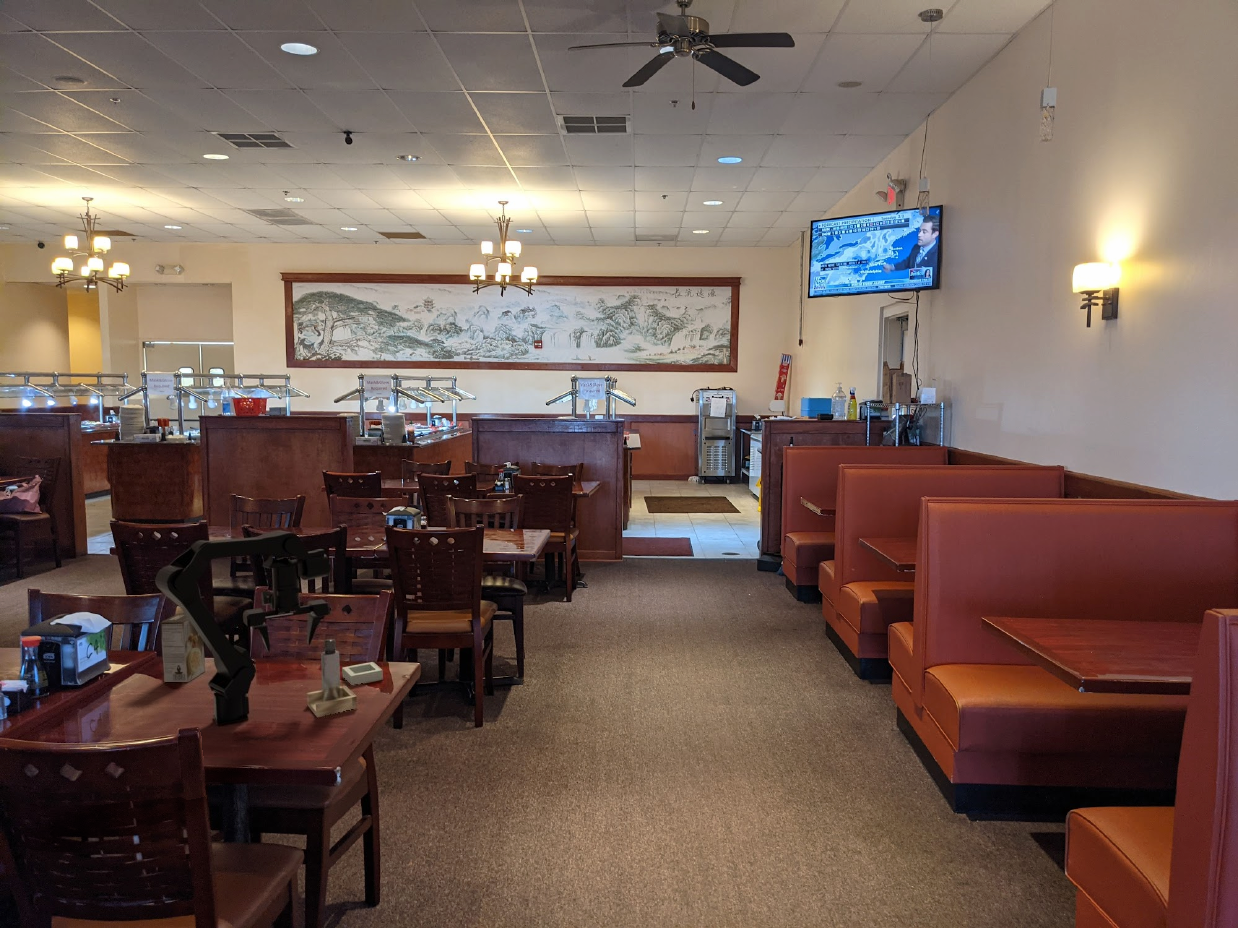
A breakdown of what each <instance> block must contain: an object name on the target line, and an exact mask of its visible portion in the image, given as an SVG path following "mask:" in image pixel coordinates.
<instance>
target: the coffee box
mask: <svg viewBox="0 0 1238 928" xmlns="http://www.w3.org/2000/svg"><path fill="white" fill-rule="evenodd" d="M159 624H160V636H161V651H162V662H163V663H162V664H163V680H164V683H165V682H188V683H190V682H191V681H193V680H194V679H195V678H198V676H200V675H202V674H203V673H204V672H206V660H205V659H206V657H205V645H204V644H205V642H204V641H203V639H202V638H201V636H200V635H199V634H198V632H197V631H196V629H195V628H194V626H193V625H192V623H191V622H190V621H189V619H188V618H187V616H186V615H185V613H184V612H183V613H181V612H179V613H177V614H175V615H173V616H171V617H168V618H167V619H164V620H162V621H161V622H160V623H159Z"/></svg>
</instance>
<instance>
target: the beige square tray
mask: <svg viewBox="0 0 1238 928" xmlns="http://www.w3.org/2000/svg"><path fill="white" fill-rule="evenodd" d="M306 698H307V701H306V702H307V706H308V708H309V709H310V710H311V712H312V713H313V714H314V715H315V716H316V718H321V717H326V716H329V715H330V714H331V715H335V713H336V714H339V713H338V712H340V713H343V711H345V712H347V711H346V710H350V711H352V710H351V709H354V710H357V709H358V705H357V704H358V702H357V699H358V698H357V695H356V694H355V693H354V692H353V691H352V690H351V688H349V687H347V685H342V686H341V685H340V698H339V699H334V700H329V701H325V702H322V689H321V690H315V691H311V692H307V693H306ZM325 715H326V716H325Z"/></svg>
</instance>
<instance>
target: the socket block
mask: <svg viewBox="0 0 1238 928" xmlns="http://www.w3.org/2000/svg"><path fill="white" fill-rule="evenodd" d="M341 670H342V672H341V673H342V678H343V679H344V678H345V679H344V680H345V681H346V680H347V681H348V682H349V683H350V684H351V685H353V686H355V685H354V684H358V685H362V684H361V683H363V684H367V683H372V682H377V681H378V682H379V681H382V680H384V675H383V674H384V672H383V669H382V668H381V667H380V666H378V665H377V664H376V663H375V662H373V661H371V662H366V663H365V662H364V663H359V664H355V665H350V666H345V667H343V666H342V669H341ZM347 681H346V682H347ZM348 682H347V683H348ZM349 683H348V684H349ZM350 684H349V685H350ZM351 685H350V686H351Z"/></svg>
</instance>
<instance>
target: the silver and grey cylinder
mask: <svg viewBox="0 0 1238 928" xmlns="http://www.w3.org/2000/svg"><path fill="white" fill-rule="evenodd" d="M320 653H321V654H320V656H321V657H320V659H321V690H322V702H325V701H329V700H334V699H339V698H340V686H341V675H340V674H341V673H340V671H341V670H340V669H341V668H340V665H341V664H340V651H338V650H336V639H334V638H329V639H325V640H324V651H323V652H320Z"/></svg>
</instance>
